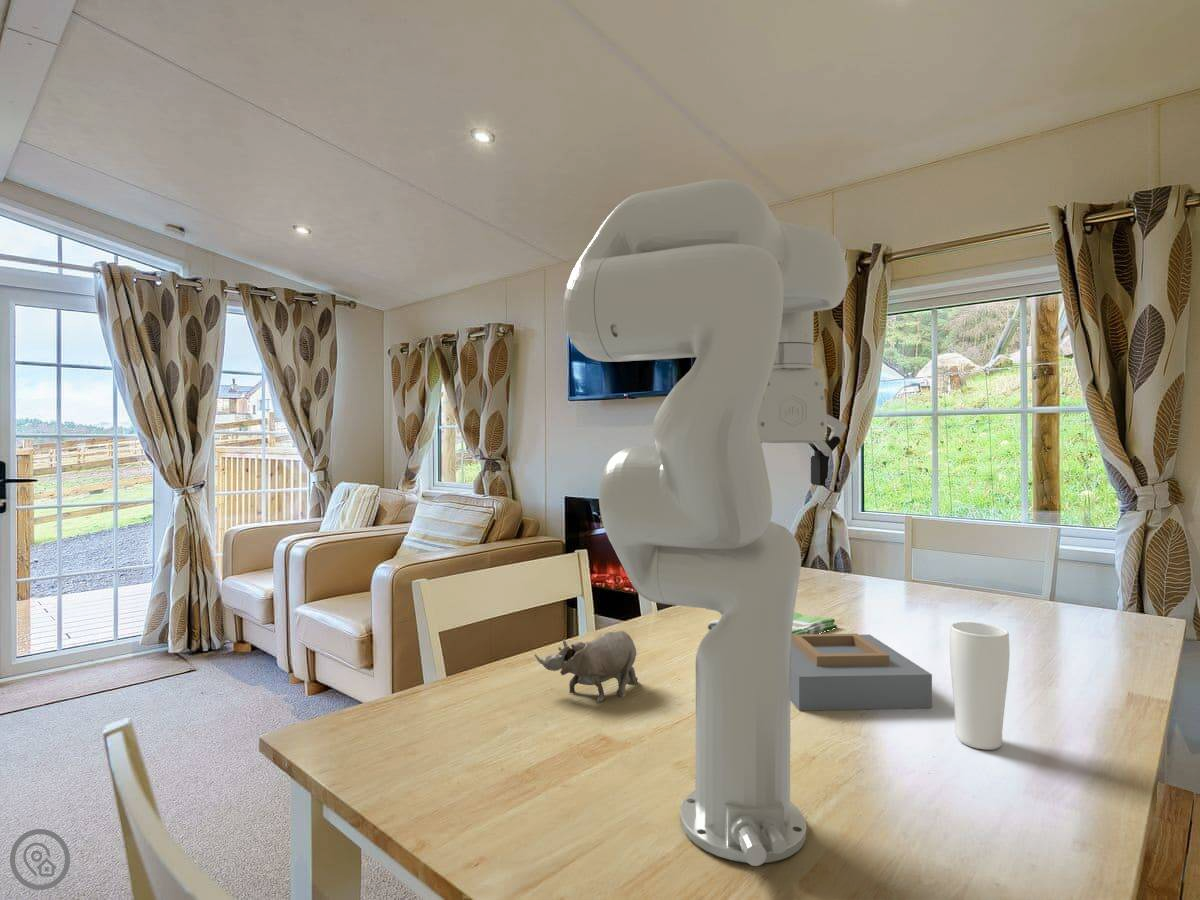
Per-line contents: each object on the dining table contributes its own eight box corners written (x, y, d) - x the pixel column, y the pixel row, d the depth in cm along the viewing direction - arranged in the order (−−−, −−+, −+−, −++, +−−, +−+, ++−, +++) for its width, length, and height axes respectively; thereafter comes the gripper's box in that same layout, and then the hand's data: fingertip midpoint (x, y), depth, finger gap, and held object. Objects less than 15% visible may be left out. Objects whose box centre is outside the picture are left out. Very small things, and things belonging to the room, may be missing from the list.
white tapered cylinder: (1017, 757, 82) (1018, 637, 81) (958, 751, 83) (959, 634, 83) (996, 733, 88) (997, 623, 88) (942, 728, 90) (943, 620, 89)
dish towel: (704, 632, 136) (704, 616, 136) (771, 614, 151) (771, 599, 151) (773, 653, 123) (774, 635, 123) (839, 631, 138) (839, 614, 138)
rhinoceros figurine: (669, 677, 102) (614, 603, 100) (604, 741, 97) (545, 665, 95) (648, 666, 109) (597, 597, 107) (587, 725, 105) (532, 654, 103)
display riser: (931, 708, 97) (932, 664, 96) (799, 710, 96) (799, 666, 95) (869, 662, 116) (869, 626, 116) (759, 664, 116) (759, 627, 115)
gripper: (731, 356, 84) (731, 488, 84) (858, 357, 86) (858, 486, 86) (714, 362, 91) (714, 484, 92) (832, 363, 93) (831, 482, 94)
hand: (784, 485), depth 89 cm, fingers open, 9 cm apart
